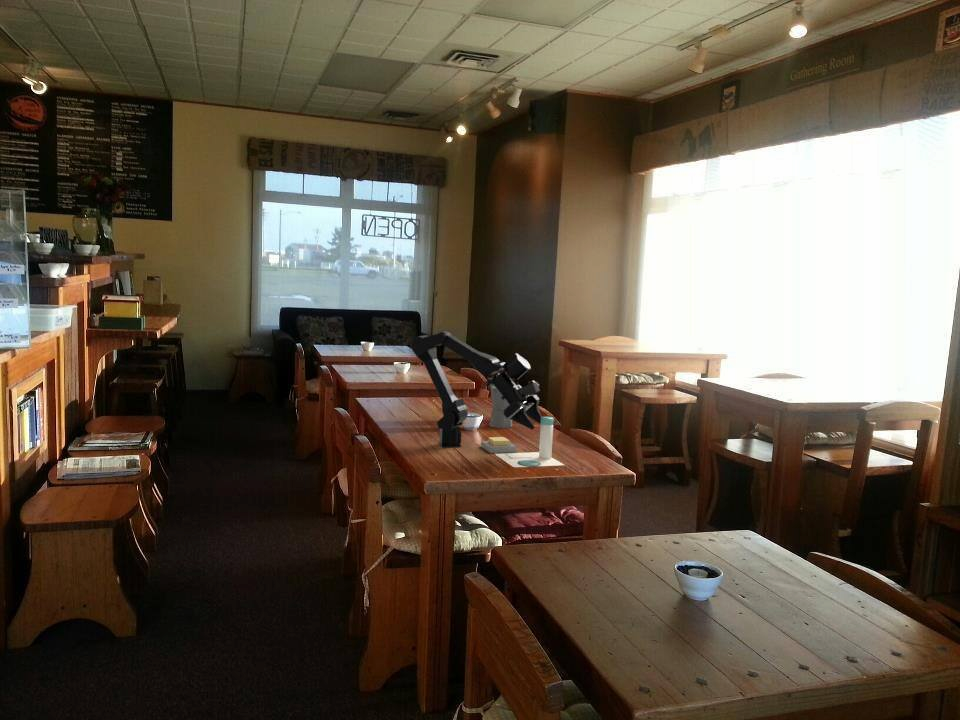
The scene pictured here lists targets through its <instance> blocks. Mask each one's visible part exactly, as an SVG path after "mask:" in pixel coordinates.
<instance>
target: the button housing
mask: <svg viewBox="0 0 960 720" xmlns="http://www.w3.org/2000/svg"><path fill="white" fill-rule="evenodd" d="M488 441H489V440H482V441H481V445H480V446H481V448H483V449H484V450H485V451H487V452H488V454H501V453H517V445H515V444H514V443H512V442H510V444H509V446H492V445H491V444H489V443H488Z"/></svg>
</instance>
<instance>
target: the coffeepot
mask: <svg viewBox="0 0 960 720" xmlns="http://www.w3.org/2000/svg"><path fill="white" fill-rule="evenodd" d="M490 394H491V395H490V396H491V405H492V409H491V415H490V420H489V424H488V426H489V427H491V428H494V429H511V428H512V427H513V420H510V418H511V417H512V415H511V417H510V418H508V419H507V418H506V417H505V415H504V410H505V409H506V408H507V407H508V406H509V404H508V402H507V401H506V400H502V398H501V397H502V395H501V394H500V393H499V391H498V390H497V389H496V388H495V386H494V385H492V386H490Z"/></svg>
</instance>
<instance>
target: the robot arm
mask: <svg viewBox="0 0 960 720" xmlns="http://www.w3.org/2000/svg"><path fill="white" fill-rule="evenodd" d="M439 346H444V347H446V348H447V349H449V350H451V351H452V352H454V353H455V354H457V355H458V356H460V357H462V358H463V359H465V360H466V361H468V362H469V363H470V364H471V365H472V367H473V368H474V369H475V370H476V371H477V372H479V373H480V375H482V376H487V377H488V376H491V375H493V376H492V377H488V378H486V388H491V387H492V386H495V388H496V389H497V390H498V391H499V393H500V394H501V395H502V397H501V398H502V400H506V401H507V402H508V404H509V406H508V407H507V408H506V409H505V410H504V415H505V417H506V418H507V419H508V418H510V417H511V416H512V417H511V418H510V420H512V422H515V423H518V424H520V425H522V426H524V427H526V428H528V429H530V430H534V429H535V428H536V426H535V425H534V424H533V421H535V422H537V423H538V424H539V425H541V417H543V416H542V414H541V412H540V409H539V403H540V398H539V396H538V395H537V393H539V392H541V389H540V384H539V383H538V382H537V381H535V380H534V379H533V380H531V381H528V382H527V385H525V386H521V385H520V384H516V383H515V382H514V380H517V381H518V380H519V379H520V378H521V377H523V375H525V374H526V373H527V372H528V371H529V370H531V364H530V363H529V362H528V360H527V359H525V358H524V357H523V356H521V355H520V354H519V353H518V352H516V353H513V355H511V357H510V358H509V359H508V360H507V361H506V362H504V361H502V360H499V359H498V358H497V357H496V356H493V355H490V354H488V353H485V352H482V351H479V350H477V349H476V348H473V347H472V346H471V345H469V344H468V343H465V342H464V341H463V340H460V339H459V338H458V337H456V336H455V335H453V334H451V332H449V331H441V332H438V333H435V334H432V335H419V336H415V337H414V338H412V340H411V342H410V348H411V350H412V352H413V353H414V354H415V356H416V358H418V360H420V362H422V363H423V364H424V366H425V369H426V370H427V373H428V375H429V377H430V379H431V381H432V384H433V386H434V387H435V389H436V392H437V394H438V396H439V399H440V401H441V413H442V414H443V415H442V417H441V418H440V419H438V421H437V422H436V424H437V427H438V429H439V440H438V441H437V444H438V445H439V446H441V447H442V448H457V447H462V431H461V427H462V425H463V422H464V421H466V420H467V417H468V415H469V414H468V409H469V408H468V406H467V405H466V403H465V400H464V398H462V397H461V398H458V397H457V396H456V395H455V393H454V392H453V389H452V387H451V385H450V383H449V380H448V378H447V377H446V375H445V372H444V370H443V368H442V366H441V363H440V362H439V359H438V355H437V347H439ZM499 371H501V372H500V373H499ZM531 419H532V420H533V421H531Z"/></svg>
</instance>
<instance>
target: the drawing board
mask: <svg viewBox="0 0 960 720" xmlns="http://www.w3.org/2000/svg"><path fill="white" fill-rule="evenodd" d="M494 455H495V456H497V457H498V458H499V459H501V460H503V461H504V462H505V463H507V464H508V465H510V466H511V467H513V468H530V467H531V468H533V467H554V466H555V467H557V466H565V464H564V463H562V462H560V461H559V460H557V459H556V458H553V457H552V456H551V459H540V458H539V451H535V452H534V451H531V452H512V453H494Z"/></svg>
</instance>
